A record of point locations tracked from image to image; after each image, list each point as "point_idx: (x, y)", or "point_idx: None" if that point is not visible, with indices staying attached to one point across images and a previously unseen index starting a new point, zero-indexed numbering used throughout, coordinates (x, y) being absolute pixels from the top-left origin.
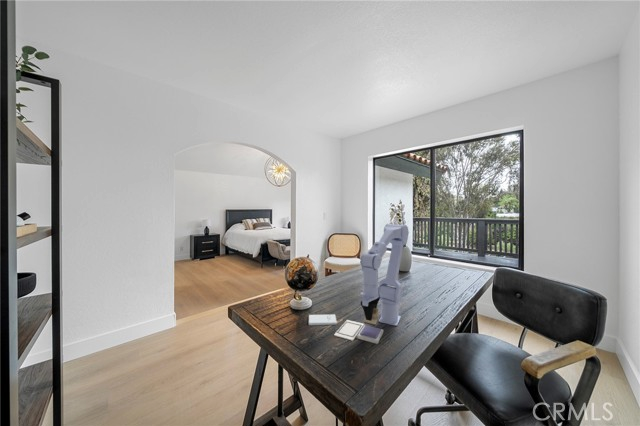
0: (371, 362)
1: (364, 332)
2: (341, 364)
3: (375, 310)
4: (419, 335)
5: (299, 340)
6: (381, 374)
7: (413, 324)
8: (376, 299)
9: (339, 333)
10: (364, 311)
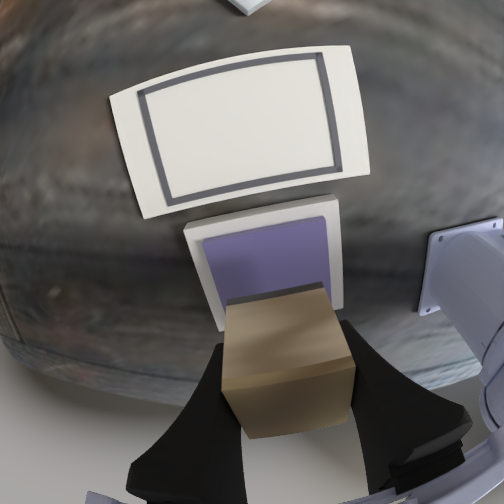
0: (105, 341)
1: (230, 260)
2: (22, 272)
3: (299, 427)
4: None
5: (3, 41)
6: (96, 371)
7: (443, 340)
8: (372, 485)
9: (142, 110)
10: (187, 407)
